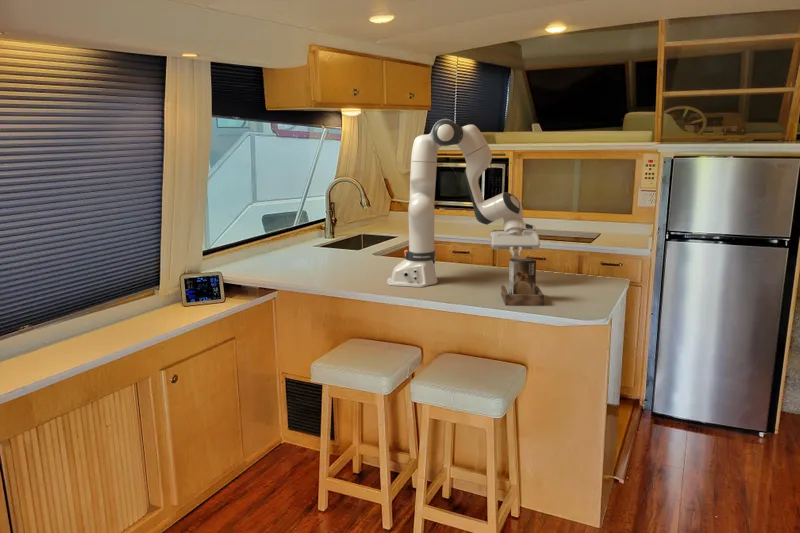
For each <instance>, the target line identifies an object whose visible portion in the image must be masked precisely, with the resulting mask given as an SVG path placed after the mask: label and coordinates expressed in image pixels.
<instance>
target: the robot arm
mask: <svg viewBox="0 0 800 533" xmlns="http://www.w3.org/2000/svg"><path fill="white" fill-rule="evenodd" d="M454 145H456V146H457V147H458V148H459V149H460V151H461V153H462V155H463V157H464V160H465V164H466V165H465V169H464V171H463V172H464V173H463V174H464V179H465V184H466V186H467V190H468V193H469V196H470V199H471V202H472V206H473V212H474V216H475V219H476V220H477V221H478V222H479V223H481V224H483V225H490V224H491V223H493V222H496V220H499V219H503V229H493V230H491V231H490V233H489V236H490V238H491V244H490V248H491V249H492V250H499V251H500V250H508V251H509V253H510V254H511V256H512V258H521V253H522V250H523V251H532V250H533V251H537V250H538V249H540V245H541V243H540V237H539V233H538V232H537V231H536V226H535V225H534V224H529V223H526V222H524V211H523V210H524V209H523V206H522V202H521V199H520V198H519V197H517V196H515V195H514V194H512V193H510V192H507V191H505V192H501V193H499V194H497V195H494V196H493V197H491V198H488V199H486V200H485V199H484V198H483V195H482V190H481V188H480V184H479V179H480V178H481V176H482V174H484V172H485V171H486V170H487V169H488V168H489V167H490V164H491V163H492V159H493V154H492V150H491V148H490V146H489V144H488V142H487V140H486V138H485V136H484V135H483V133H482V132H481V131H480V129H479V128H478V127H477V126H476V125H475V124H467V125H464V126H460V125H459V124H457V123H456V122H455V121H453V120H452V119H449V118H442V119H439V120H437V122H435V124H434V125H433V126H432V129H431V130H430V132H429V133H428V134H420V135H418V136H417V137H415V139H413V144H412V149H411V155H410V156H411V157H410V170H409V171H410V172H409V173H410V174H409V201H408V205H407V206H408V208H407V210H408V249H405V250H403V251H404V252H403V254H404V255H403V256H404V259H403V260H402V261H400V262H399V263H398V264H397V265H395V266H394V268H393V269H392V273H391V276H390V277H388V278H387V279H386V284H387V285H388V286H397V287H415V288H416V287H417V288H423V287H424V288H425V287H428V286H432V285H436V284H437V283H438V277H437V272H436V264H435V263H436V251H435V197H436V184H437V183H436V181H437V164H438V162H437V161H438V152H439V149H440V148H441V147H449V146H454ZM515 250H516V252H515Z"/></svg>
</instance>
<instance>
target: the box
mask: <svg viewBox="0 0 800 533" xmlns="http://www.w3.org/2000/svg"><path fill="white" fill-rule="evenodd" d="M500 295H501V298H502V300H503V304H504V306H526V307H527V306H533V307H534V306H535V307H536V306H540V307H544V305H545V304H544V303H545V295H544V293H543V291H542V290H541V289H540V287H539V286H538V285H536V287H535V295H521V294H509V291H508V290H507V288H506V286H505V285H504V284H503V285H501V288H500Z"/></svg>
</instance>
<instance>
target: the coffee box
mask: <svg viewBox="0 0 800 533" xmlns="http://www.w3.org/2000/svg"><path fill="white" fill-rule="evenodd" d="M508 263H509V265H508V266H509V267H508V268H509V269H508V270H509V271H508V294H521V295H535V287H536V286H537V285H536V282H537V280H536V279H537V260H535V259H534V258H532V257H520V258H513V257H512V258H509V262H508Z"/></svg>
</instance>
